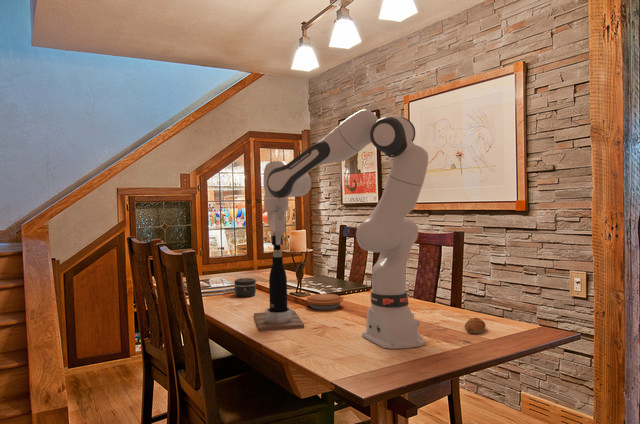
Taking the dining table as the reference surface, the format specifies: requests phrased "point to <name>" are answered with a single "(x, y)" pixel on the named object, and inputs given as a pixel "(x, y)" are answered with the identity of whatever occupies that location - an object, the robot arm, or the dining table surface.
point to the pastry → (475, 326)
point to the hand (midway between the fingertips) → (277, 244)
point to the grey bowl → (278, 316)
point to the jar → (245, 287)
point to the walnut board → (265, 326)
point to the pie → (324, 301)
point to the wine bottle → (277, 281)
